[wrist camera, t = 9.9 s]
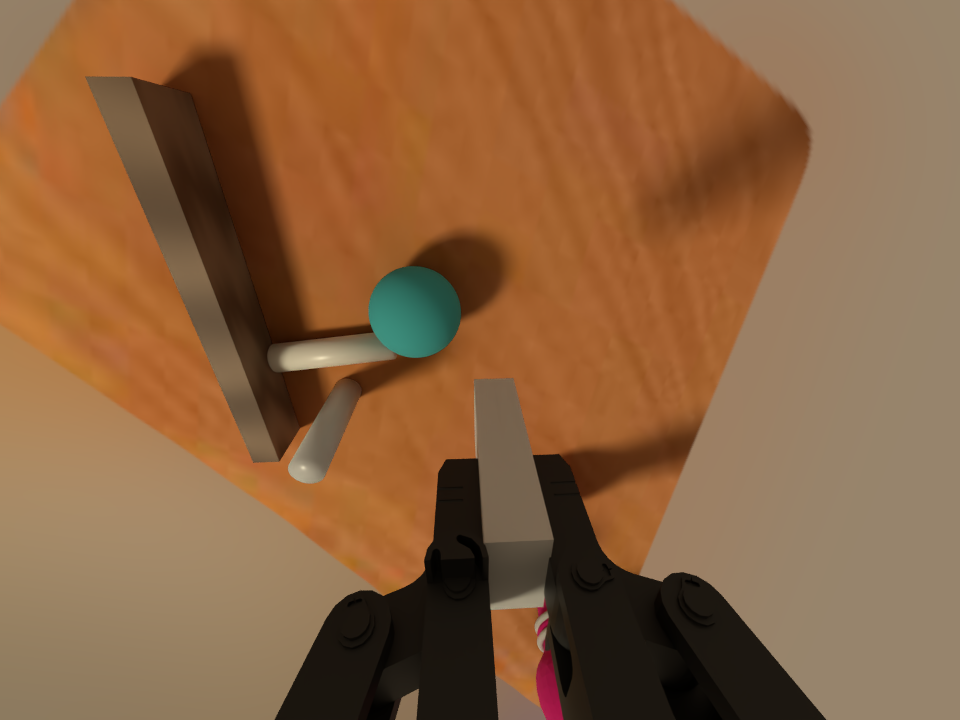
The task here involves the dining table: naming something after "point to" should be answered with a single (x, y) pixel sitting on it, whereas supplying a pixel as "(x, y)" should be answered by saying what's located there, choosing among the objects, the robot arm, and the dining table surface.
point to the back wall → (200, 250)
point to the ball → (414, 311)
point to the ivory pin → (327, 352)
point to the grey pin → (325, 433)
